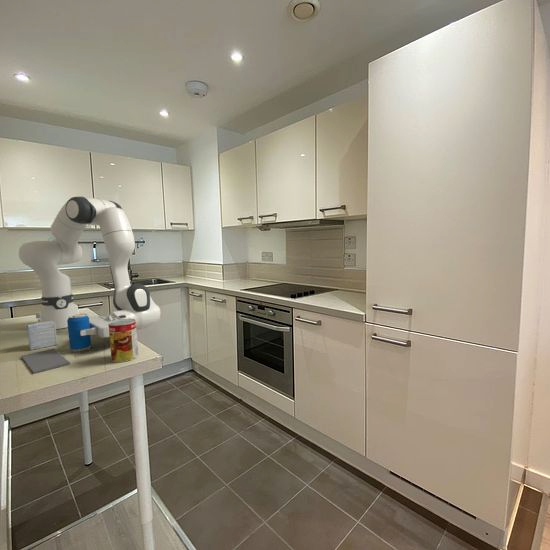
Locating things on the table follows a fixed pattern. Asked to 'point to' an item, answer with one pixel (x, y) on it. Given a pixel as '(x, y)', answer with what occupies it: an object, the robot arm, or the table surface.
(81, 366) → the table surface
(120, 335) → the canned food
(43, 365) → the charcoal mat
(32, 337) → the medicine box
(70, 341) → the beverage can
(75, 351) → the tan flat disc
